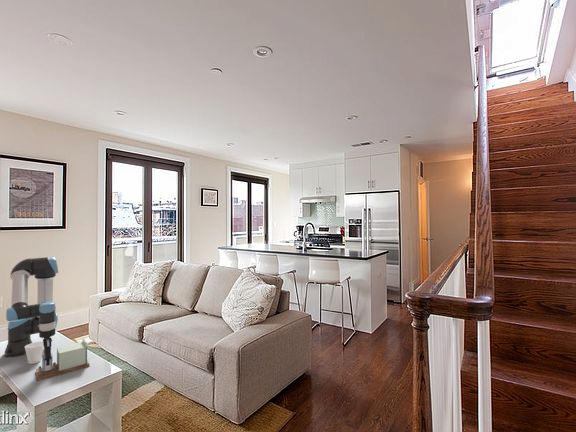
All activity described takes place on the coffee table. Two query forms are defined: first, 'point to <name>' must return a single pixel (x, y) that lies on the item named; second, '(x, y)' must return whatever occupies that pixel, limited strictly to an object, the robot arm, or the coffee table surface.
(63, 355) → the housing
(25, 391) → the coffee table surface
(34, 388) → the coffee table surface
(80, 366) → the board
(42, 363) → the jaw block
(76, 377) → the coffee table surface
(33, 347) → the cup
